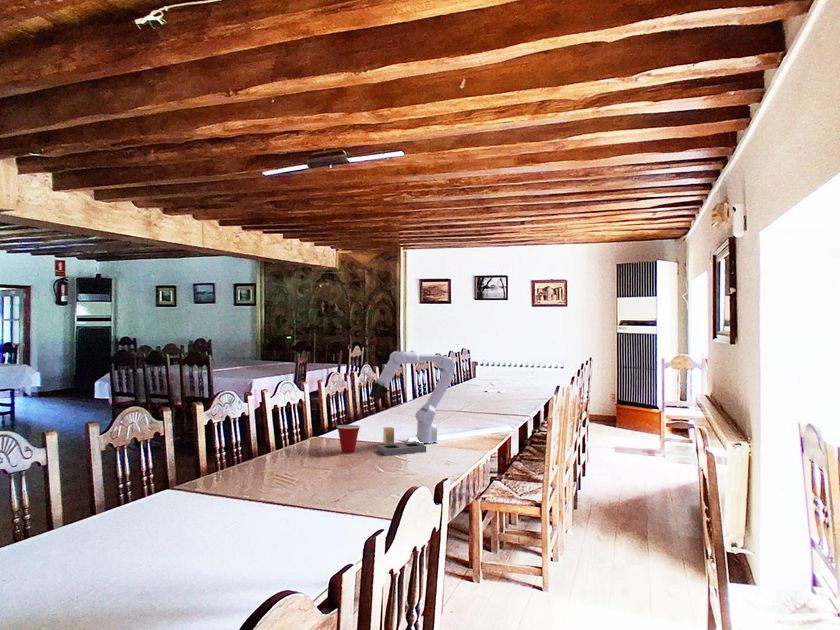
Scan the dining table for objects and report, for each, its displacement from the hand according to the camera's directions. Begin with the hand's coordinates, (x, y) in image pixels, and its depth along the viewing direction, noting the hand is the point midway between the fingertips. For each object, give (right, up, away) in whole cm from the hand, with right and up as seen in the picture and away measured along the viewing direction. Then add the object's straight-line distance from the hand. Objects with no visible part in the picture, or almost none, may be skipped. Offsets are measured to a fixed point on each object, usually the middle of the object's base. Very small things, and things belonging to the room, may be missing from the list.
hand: (373, 398), depth 257 cm
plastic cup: (-11, -23, -11) cm, 27 cm away
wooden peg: (+7, -23, +4) cm, 24 cm away
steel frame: (+14, -23, -9) cm, 28 cm away
